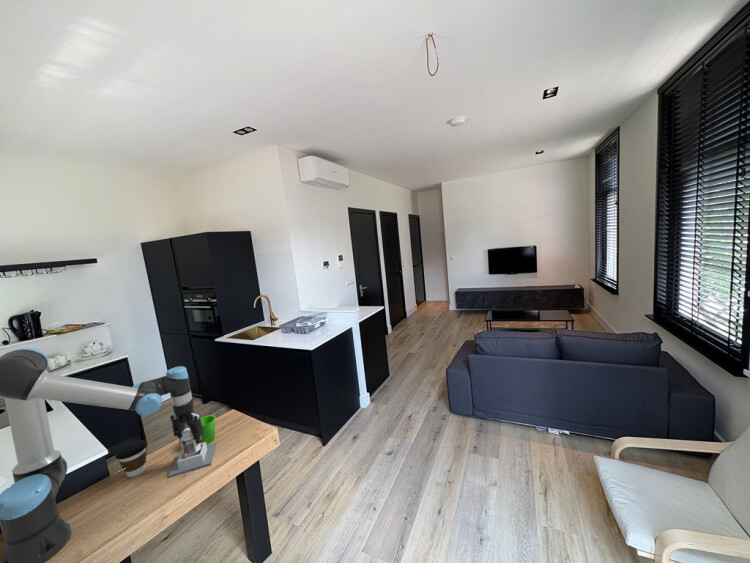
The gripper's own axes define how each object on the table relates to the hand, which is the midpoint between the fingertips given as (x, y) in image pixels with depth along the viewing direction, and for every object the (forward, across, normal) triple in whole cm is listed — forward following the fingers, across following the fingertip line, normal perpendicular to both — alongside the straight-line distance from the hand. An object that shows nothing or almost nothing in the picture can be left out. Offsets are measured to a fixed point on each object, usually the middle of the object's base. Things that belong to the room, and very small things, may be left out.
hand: (191, 449), depth 135 cm
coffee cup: (+6, +22, +8) cm, 24 cm away
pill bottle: (+1, 0, 0) cm, 1 cm away
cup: (+6, +3, -13) cm, 15 cm away
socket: (+5, 0, 0) cm, 5 cm away
